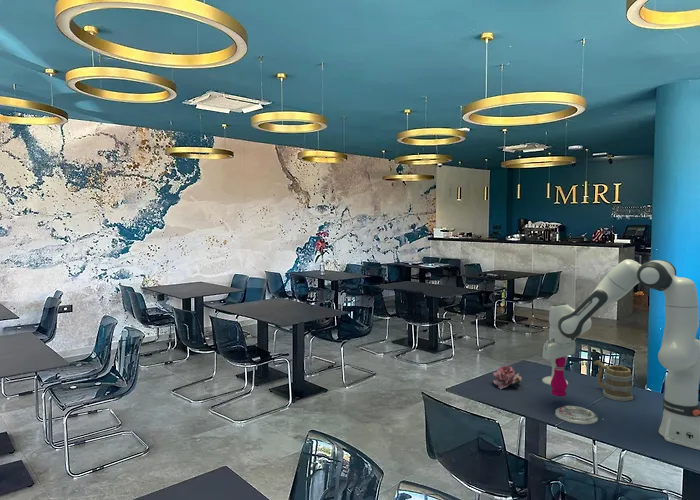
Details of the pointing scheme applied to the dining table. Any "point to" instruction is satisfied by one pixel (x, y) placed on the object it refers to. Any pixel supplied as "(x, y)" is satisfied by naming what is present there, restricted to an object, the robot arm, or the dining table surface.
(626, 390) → the tankard
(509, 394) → the dining table surface
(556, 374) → the pepper mill
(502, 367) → the flower
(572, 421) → the silver metal plate
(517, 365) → the dining table surface
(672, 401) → the robot arm
